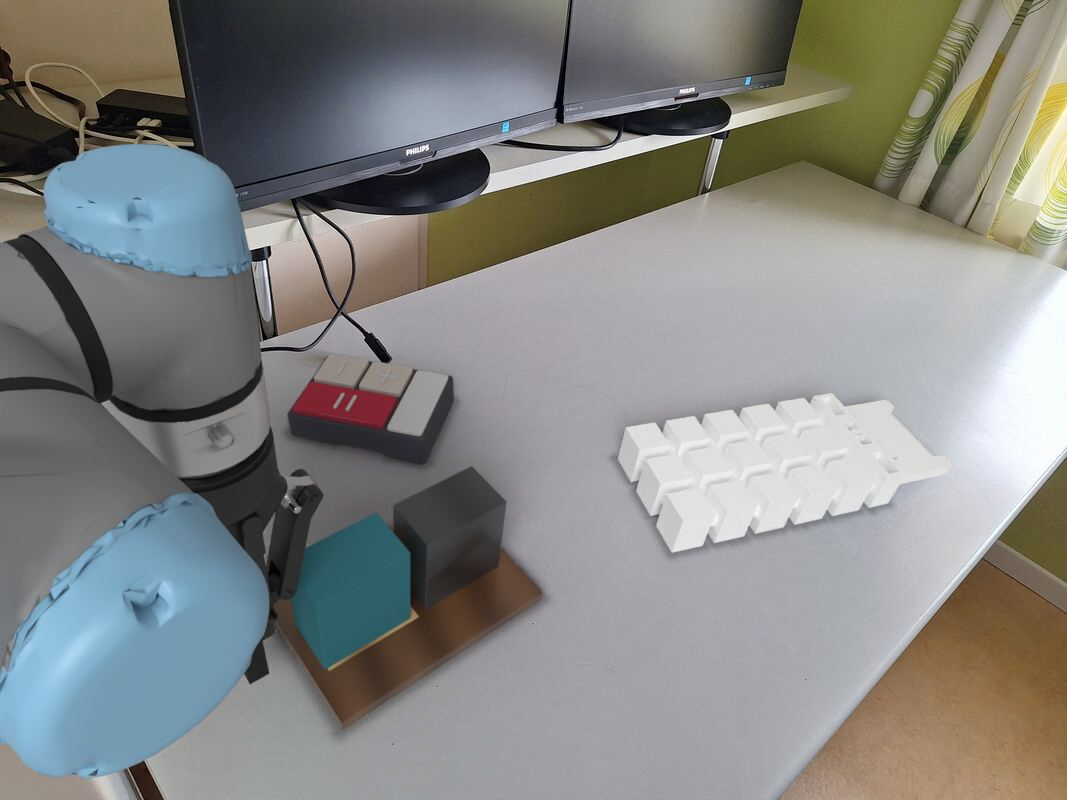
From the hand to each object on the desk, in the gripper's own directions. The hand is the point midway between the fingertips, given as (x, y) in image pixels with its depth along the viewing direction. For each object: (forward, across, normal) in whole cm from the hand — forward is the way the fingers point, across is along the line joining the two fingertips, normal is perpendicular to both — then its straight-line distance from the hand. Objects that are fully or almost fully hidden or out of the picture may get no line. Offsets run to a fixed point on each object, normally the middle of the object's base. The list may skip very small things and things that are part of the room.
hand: (251, 665), depth 57 cm
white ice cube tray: (+3, +56, -10) cm, 57 cm away
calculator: (+4, +24, +22) cm, 33 cm away
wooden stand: (+4, +14, 0) cm, 14 cm away
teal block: (+3, +9, 0) cm, 9 cm away
